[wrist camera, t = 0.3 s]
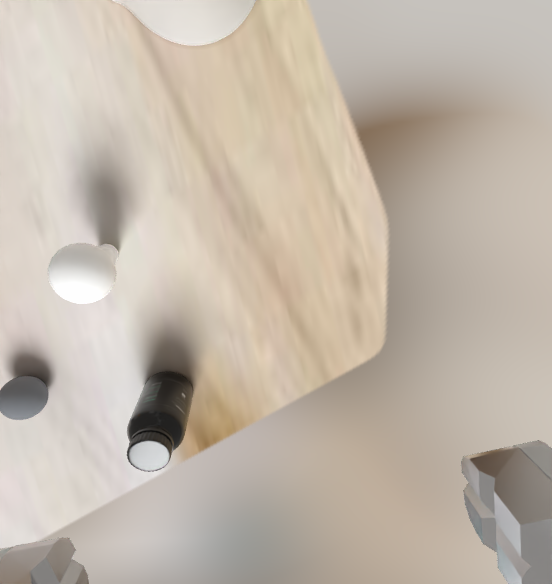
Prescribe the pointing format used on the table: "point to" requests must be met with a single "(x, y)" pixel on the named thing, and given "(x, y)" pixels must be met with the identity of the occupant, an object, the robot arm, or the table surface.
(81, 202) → the table surface
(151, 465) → the supplement bottle
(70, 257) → the lightbulb
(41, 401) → the charcoal ball
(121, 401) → the table surface
